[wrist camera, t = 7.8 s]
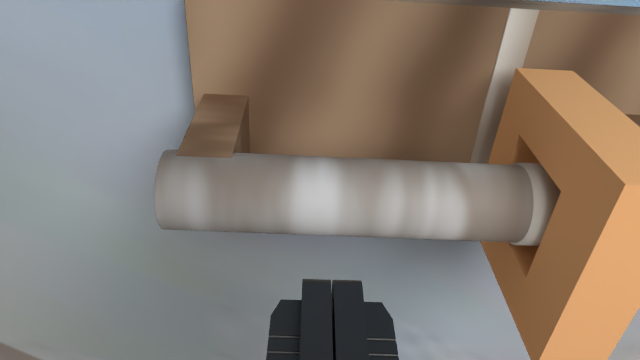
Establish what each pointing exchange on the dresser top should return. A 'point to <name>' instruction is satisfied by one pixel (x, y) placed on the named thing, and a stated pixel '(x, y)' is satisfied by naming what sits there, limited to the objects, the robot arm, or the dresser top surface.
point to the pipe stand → (377, 114)
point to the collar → (572, 217)
